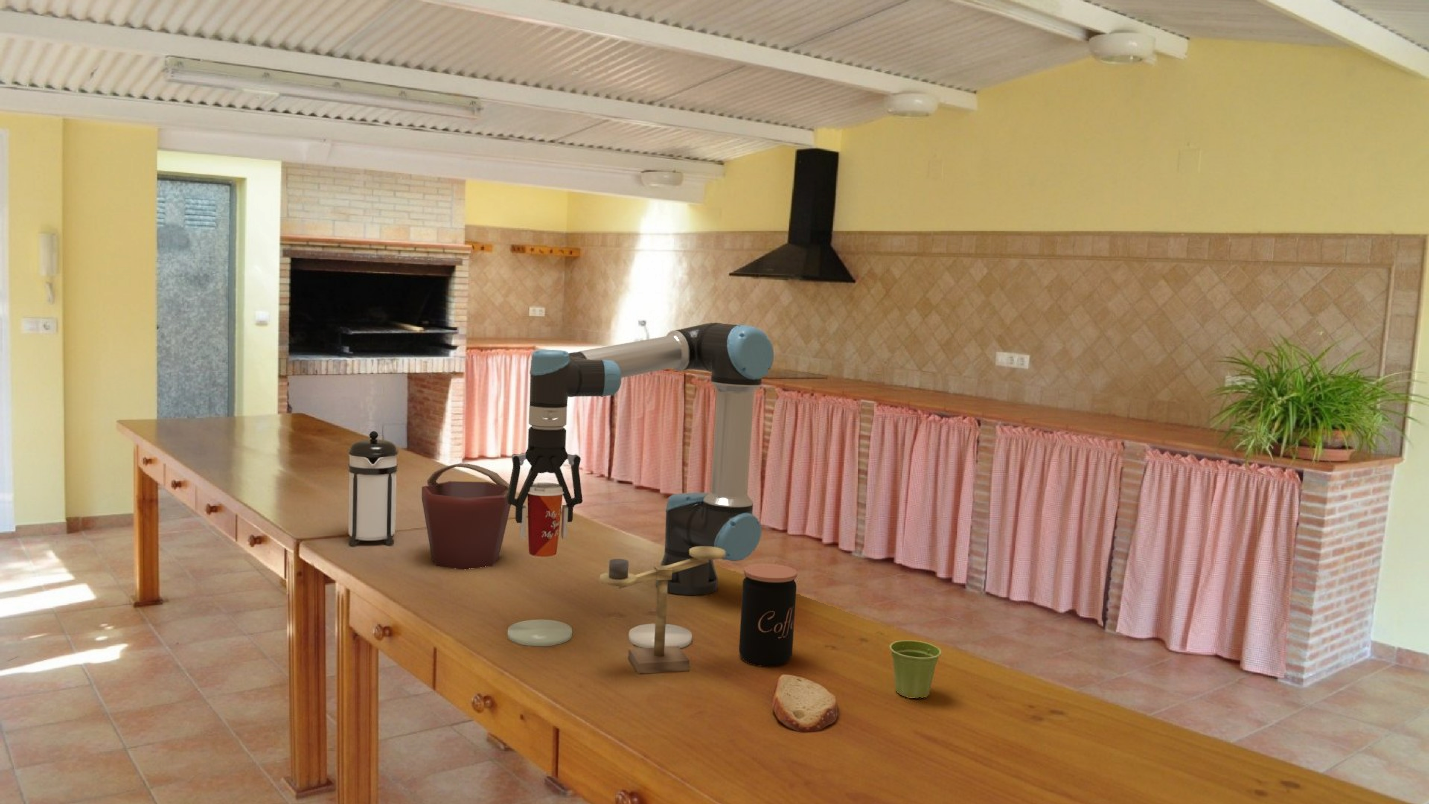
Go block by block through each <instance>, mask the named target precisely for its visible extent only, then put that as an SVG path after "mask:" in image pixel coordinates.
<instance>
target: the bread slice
mask: <svg viewBox="0 0 1429 804" xmlns="http://www.w3.org/2000/svg"><path fill="white" fill-rule="evenodd" d="M771 700H772V701H771V710H772V711H773V712H774V714H775V717H776V718H777V720H778V721H779V722H780V723H782V724H783V725H784V726H785V727H787V728H789V729H790V730H792V729H793V731H795V732H797V733H805V734H806V733H818V731H819V732H821V731H823V729H824V728H825V727H828V726H830V725H832V724H833V723H835V722H836V720H837V719H838V714H839V713H838V700H837V698H836V696H835V694H833V693H831V692H829V691H828V689H827V688H826V687H824V686H823V685H821V684H819V683H818V682H814V681H813V680H810V679H807V678H805V677H801V676H797V675H791V674H781V675H780V676H779V678H778V679H777V681H776V684H775V687H774V691H773V697H772V699H771Z"/></svg>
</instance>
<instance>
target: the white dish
mask: <svg viewBox="0 0 1429 804" xmlns="http://www.w3.org/2000/svg"><path fill="white" fill-rule="evenodd" d="M692 638H693V634H692V632H691V631H690V630H689V629H687V628H685V627H683V626H680V625H675V624H672V623H671V624H669V623H666V627H665V646H664V647H672V646H679V648H680V649H683V648H686V647H687V646H689V645H690V644H692ZM654 639H655V623H645V624H640V625H636V626H634V627H632V628H631V629H630V630H629V631H628V641H629V642H630V643H631V644H632V645H634V646H636V647H638V648H654Z"/></svg>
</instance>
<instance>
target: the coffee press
mask: <svg viewBox="0 0 1429 804" xmlns="http://www.w3.org/2000/svg"><path fill="white" fill-rule="evenodd" d="M368 436H369V439H362V440H361V439H360V440H358V441H357V440H356V441H355V442H354V443H352V444H351V445H350V447H349V449H348V451H347V454H348V457H349V459H348V460H349V463H348V468H347V469H348V472H349V473H348V474H349V475H348V477H349V479H348V528H347V529H348V535H349V536H350V538H349V541H348V545H349V546H351V547H356V546H357V544H358V543H359V542H361V541H383V542H384V543H385V544H386V546H392V545H394V544H395V540H394V538H393V537H394V535H395V533H396V509H397V508H396V507H397V472H398V463H397V462H398V461H397V460H398V459H397V458H398V455H399V449H397V448H398V447H397V446H396V444H395V443H393V442H392V441H389V440H386V439H385V440H384V439H378V437H379V433H378V432H377V431H373V430H372V431H370V433H369V434H368Z"/></svg>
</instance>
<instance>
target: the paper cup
mask: <svg viewBox="0 0 1429 804" xmlns="http://www.w3.org/2000/svg"><path fill="white" fill-rule="evenodd" d="M563 494H564V492H563V490H562V487H561V486H560V485H559V483H554V482H534V483H533V485H532V487H530V491H529V492H528V496H527V535H528V538H527V540H528V554H530V555H531V556H534V557H540V558H542V557H544V558H545V557H553V556H555V555H556V554H557V552H558V544H559V535H560V527H561V517H562V505H563V497H564V496H563Z"/></svg>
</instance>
